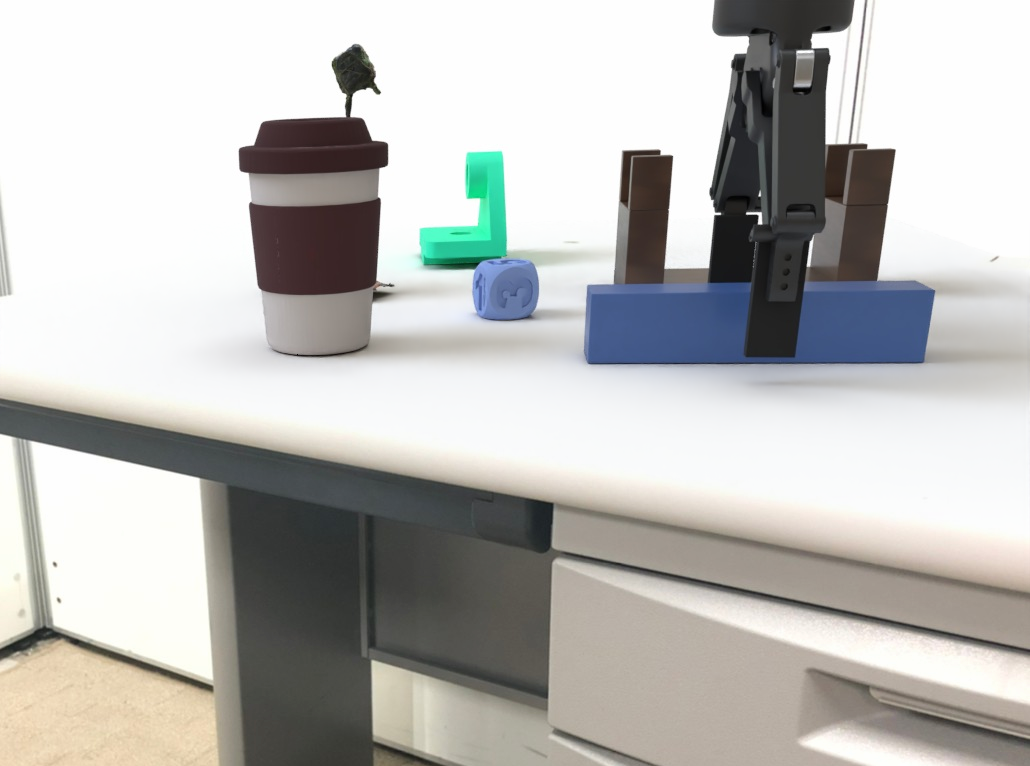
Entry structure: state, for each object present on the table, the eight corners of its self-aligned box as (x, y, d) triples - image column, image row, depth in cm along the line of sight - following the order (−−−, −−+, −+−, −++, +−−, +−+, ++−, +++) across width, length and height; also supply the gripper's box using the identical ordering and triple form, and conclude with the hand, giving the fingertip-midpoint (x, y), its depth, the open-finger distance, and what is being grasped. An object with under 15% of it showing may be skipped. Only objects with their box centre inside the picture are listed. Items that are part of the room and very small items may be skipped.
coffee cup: (255, 333, 89) (244, 119, 83) (388, 330, 88) (387, 114, 83) (241, 363, 80) (229, 124, 74) (390, 359, 79) (389, 118, 73)
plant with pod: (302, 284, 110) (294, 48, 102) (408, 292, 103) (407, 41, 96) (247, 298, 104) (234, 48, 96) (355, 307, 97) (350, 41, 90)
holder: (844, 280, 101) (863, 142, 97) (875, 298, 93) (897, 149, 89) (613, 283, 104) (621, 150, 100) (623, 301, 96) (633, 156, 92)
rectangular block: (905, 350, 76) (916, 280, 74) (924, 362, 73) (936, 289, 71) (583, 351, 79) (587, 284, 77) (587, 363, 76) (591, 293, 74)
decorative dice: (471, 312, 93) (472, 260, 92) (520, 308, 94) (522, 257, 93) (487, 321, 90) (488, 267, 88) (538, 317, 90) (540, 264, 89)
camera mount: (418, 253, 126) (419, 150, 122) (491, 250, 125) (494, 147, 122) (426, 270, 115) (426, 157, 111) (506, 267, 114) (509, 154, 110)
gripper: (685, -22, 79) (658, 299, 87) (765, -62, 57) (718, 378, 64) (804, -27, 78) (765, 299, 86) (934, -70, 55) (866, 379, 63)
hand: (745, 333), depth 75 cm, fingers open, 13 cm apart
